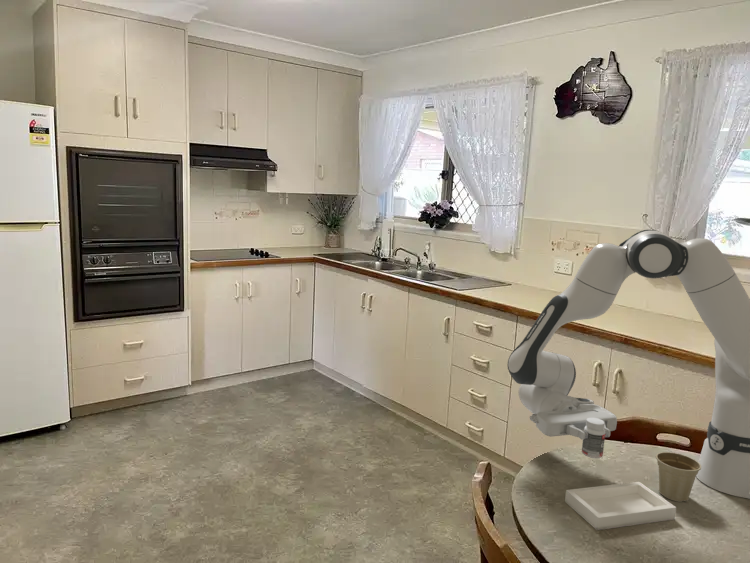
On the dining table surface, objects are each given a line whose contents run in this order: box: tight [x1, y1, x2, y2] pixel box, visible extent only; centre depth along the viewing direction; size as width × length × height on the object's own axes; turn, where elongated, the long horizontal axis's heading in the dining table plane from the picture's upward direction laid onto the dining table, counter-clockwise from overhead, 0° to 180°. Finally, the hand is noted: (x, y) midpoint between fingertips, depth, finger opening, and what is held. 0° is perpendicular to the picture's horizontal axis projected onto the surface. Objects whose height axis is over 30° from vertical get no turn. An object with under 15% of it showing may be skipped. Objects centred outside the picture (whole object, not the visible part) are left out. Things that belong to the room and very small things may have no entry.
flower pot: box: [655, 451, 701, 503], centre depth 130 cm, size 9×9×9 cm
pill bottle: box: [581, 418, 606, 459], centre depth 132 cm, size 5×5×8 cm
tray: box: [564, 481, 677, 531], centre depth 123 cm, size 20×11×3 cm, turn 106°
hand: (596, 435), depth 131 cm, fingers closed on pill bottle, 5 cm apart
